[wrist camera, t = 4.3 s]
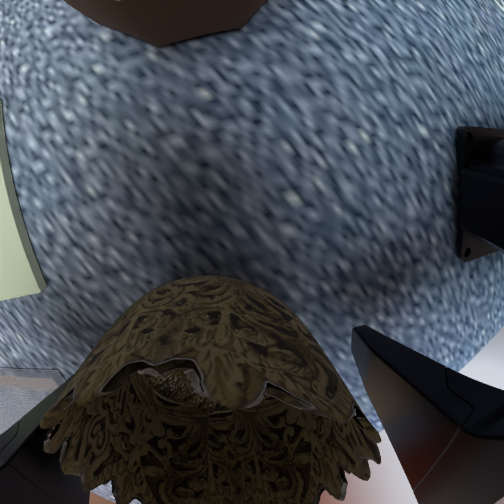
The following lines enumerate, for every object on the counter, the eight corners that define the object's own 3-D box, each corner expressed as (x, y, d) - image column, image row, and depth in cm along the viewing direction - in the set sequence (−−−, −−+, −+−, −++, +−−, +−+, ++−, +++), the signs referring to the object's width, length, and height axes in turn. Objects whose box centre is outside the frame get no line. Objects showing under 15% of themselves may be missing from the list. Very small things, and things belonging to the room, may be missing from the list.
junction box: (58, 369, 13) (-5, 508, 3) (98, 423, 14) (66, 547, 5) (-24, 365, 12) (-77, 450, 3) (11, 411, 14) (-28, 495, 5)
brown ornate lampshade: (153, 377, 13) (125, 523, 6) (106, 236, 10) (-26, 381, 3) (303, 363, 13) (351, 512, 6) (301, 212, 11) (435, 358, 3)
